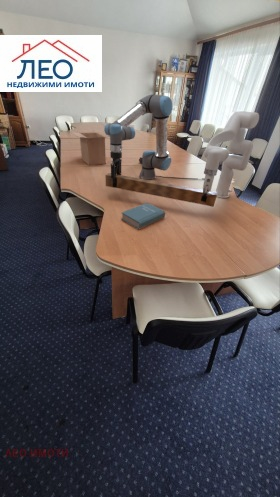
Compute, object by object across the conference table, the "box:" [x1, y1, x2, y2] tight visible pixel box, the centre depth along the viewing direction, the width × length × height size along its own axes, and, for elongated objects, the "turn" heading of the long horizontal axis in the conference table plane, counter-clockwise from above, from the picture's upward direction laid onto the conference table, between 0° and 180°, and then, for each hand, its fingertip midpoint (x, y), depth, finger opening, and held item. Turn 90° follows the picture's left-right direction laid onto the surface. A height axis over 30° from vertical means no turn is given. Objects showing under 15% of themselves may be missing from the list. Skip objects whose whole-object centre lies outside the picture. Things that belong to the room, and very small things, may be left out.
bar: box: [105, 172, 218, 208], centre depth 150 cm, size 76×5×8 cm, turn 72°
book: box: [121, 202, 166, 230], centre depth 139 cm, size 23×16×5 cm
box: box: [70, 129, 110, 166], centre depth 229 cm, size 44×36×27 cm
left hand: (116, 185), depth 158 cm, fingers closed on bar, 5 cm apart
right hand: (203, 199), depth 144 cm, fingers closed on bar, 5 cm apart
